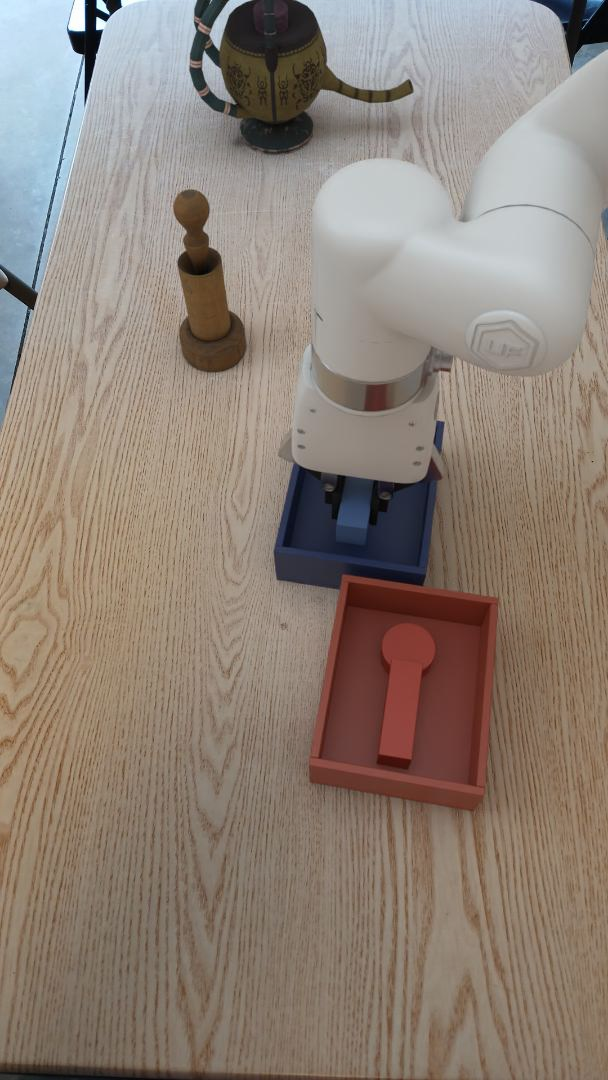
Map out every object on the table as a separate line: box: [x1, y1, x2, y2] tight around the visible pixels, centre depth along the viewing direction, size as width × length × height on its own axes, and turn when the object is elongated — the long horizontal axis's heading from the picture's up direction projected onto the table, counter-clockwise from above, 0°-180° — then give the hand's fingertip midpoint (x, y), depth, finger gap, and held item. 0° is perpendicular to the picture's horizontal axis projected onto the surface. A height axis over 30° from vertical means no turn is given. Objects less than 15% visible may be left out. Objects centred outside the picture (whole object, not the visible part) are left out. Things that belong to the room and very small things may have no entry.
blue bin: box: [273, 420, 446, 590], centre depth 71 cm, size 15×12×5 cm
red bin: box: [308, 574, 500, 812], centre depth 63 cm, size 15×12×5 cm
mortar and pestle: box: [172, 188, 247, 373], centre depth 76 cm, size 7×6×18 cm
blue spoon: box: [336, 476, 374, 546], centre depth 69 cm, size 11×4×3 cm, turn 170°
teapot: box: [188, 0, 415, 156], centre depth 90 cm, size 12×25×23 cm, turn 91°
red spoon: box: [377, 623, 436, 769], centre depth 64 cm, size 11×4×3 cm, turn 170°
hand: (356, 506), depth 69 cm, fingers closed on blue spoon, 2 cm apart
